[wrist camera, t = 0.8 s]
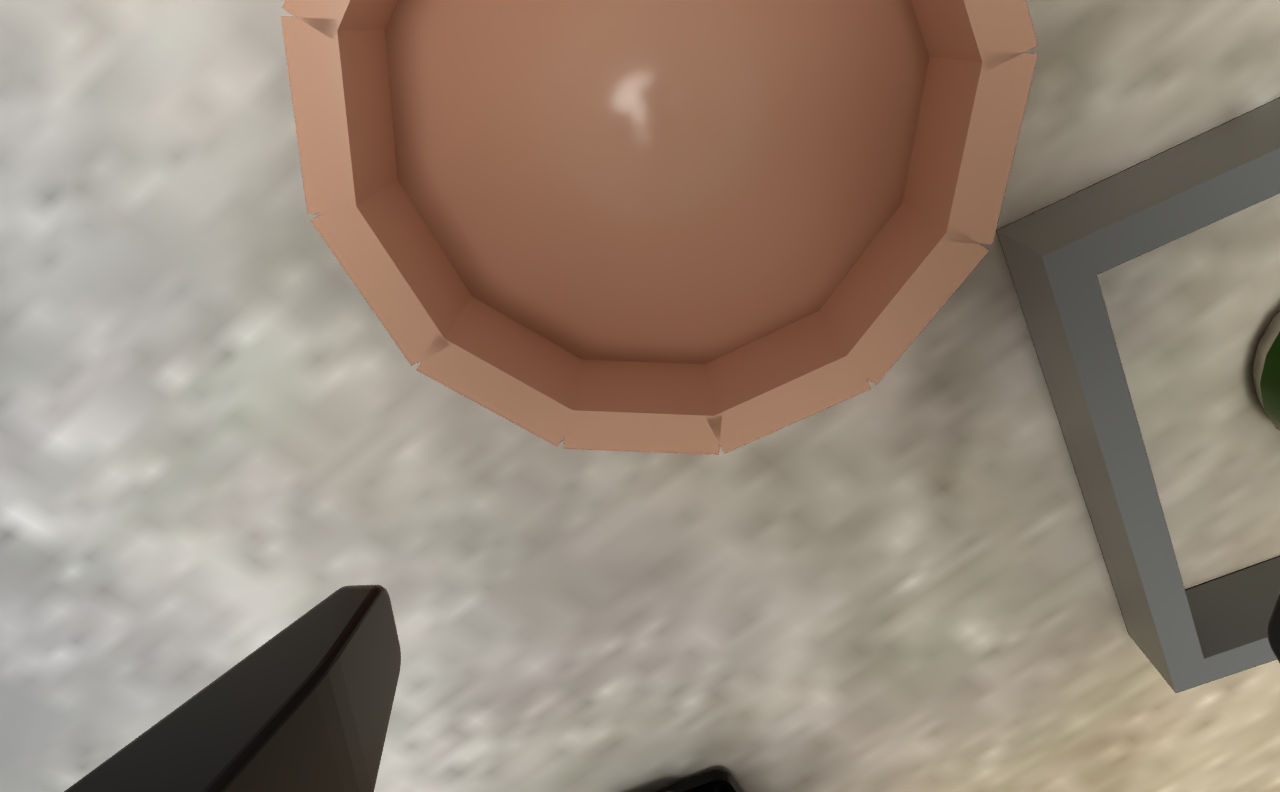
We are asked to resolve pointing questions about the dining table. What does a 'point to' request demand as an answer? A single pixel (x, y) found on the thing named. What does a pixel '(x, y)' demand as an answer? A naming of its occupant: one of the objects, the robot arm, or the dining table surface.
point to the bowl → (657, 195)
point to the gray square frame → (1100, 399)
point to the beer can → (1269, 371)
